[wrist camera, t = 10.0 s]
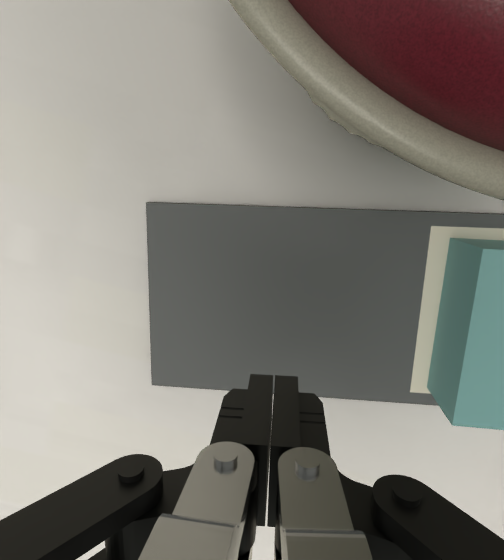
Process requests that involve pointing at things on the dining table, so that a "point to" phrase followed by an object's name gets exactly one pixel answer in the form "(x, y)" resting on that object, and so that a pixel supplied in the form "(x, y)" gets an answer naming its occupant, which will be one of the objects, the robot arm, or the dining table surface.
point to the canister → (401, 75)
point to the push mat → (300, 296)
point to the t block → (471, 336)
